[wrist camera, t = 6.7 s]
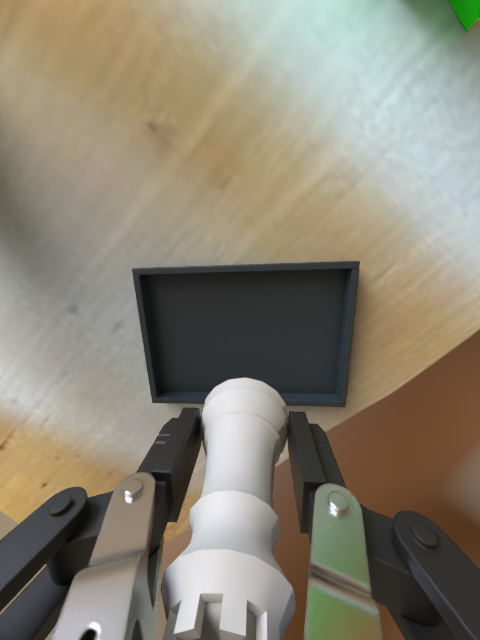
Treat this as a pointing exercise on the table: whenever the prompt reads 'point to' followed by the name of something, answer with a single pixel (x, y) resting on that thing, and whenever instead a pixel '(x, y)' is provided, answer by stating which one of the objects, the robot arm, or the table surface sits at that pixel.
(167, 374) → the tray
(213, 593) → the rook chess piece
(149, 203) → the table surface
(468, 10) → the building blocks toy
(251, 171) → the table surface
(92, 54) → the table surface
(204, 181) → the table surface
